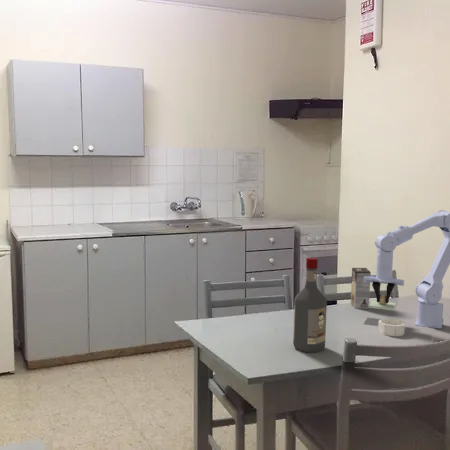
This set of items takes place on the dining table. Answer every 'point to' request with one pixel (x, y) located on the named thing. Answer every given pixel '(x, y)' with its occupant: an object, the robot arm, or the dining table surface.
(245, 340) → the dining table surface
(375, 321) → the mat
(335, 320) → the dining table surface
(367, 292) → the coffee box
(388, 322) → the bowl
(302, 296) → the liquor
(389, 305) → the lid
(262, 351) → the dining table surface
